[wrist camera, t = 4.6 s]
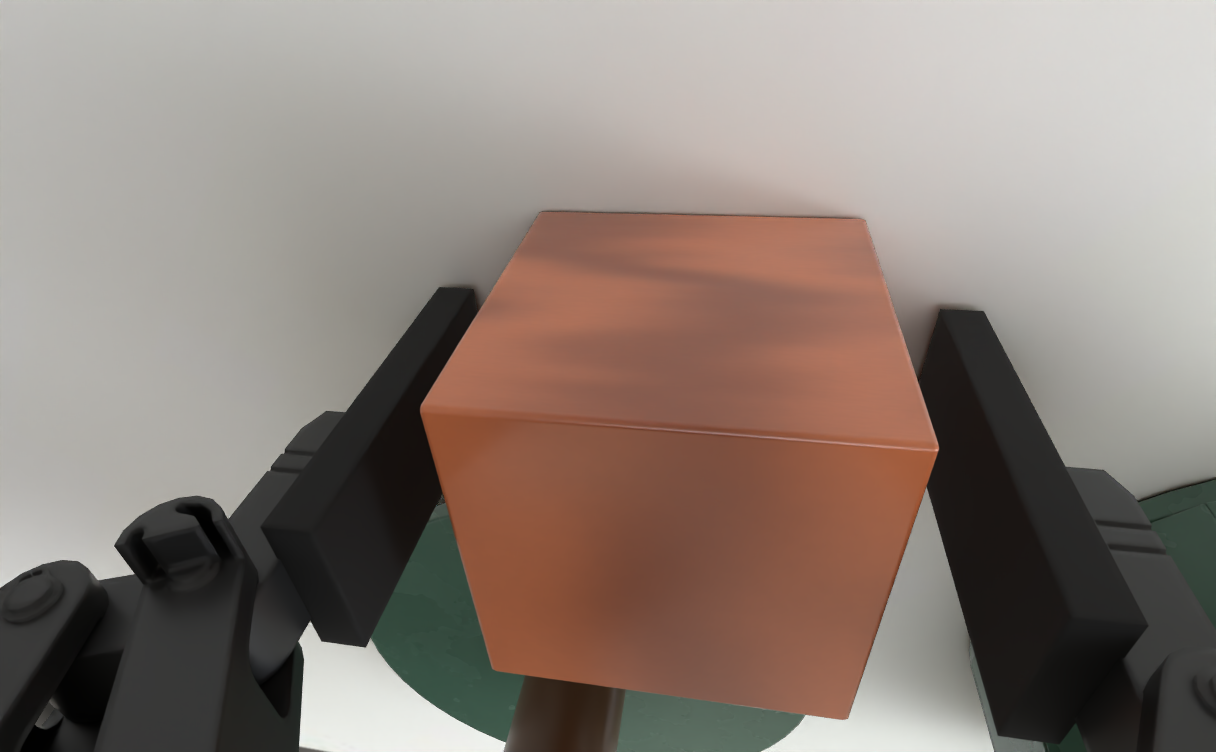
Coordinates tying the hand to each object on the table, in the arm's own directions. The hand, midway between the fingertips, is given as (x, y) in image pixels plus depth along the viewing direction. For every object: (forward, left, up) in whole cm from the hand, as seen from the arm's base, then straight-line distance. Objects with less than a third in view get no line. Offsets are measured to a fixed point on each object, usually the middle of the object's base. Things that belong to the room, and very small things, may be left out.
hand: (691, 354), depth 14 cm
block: (0, 0, 0) cm, 0 cm away
